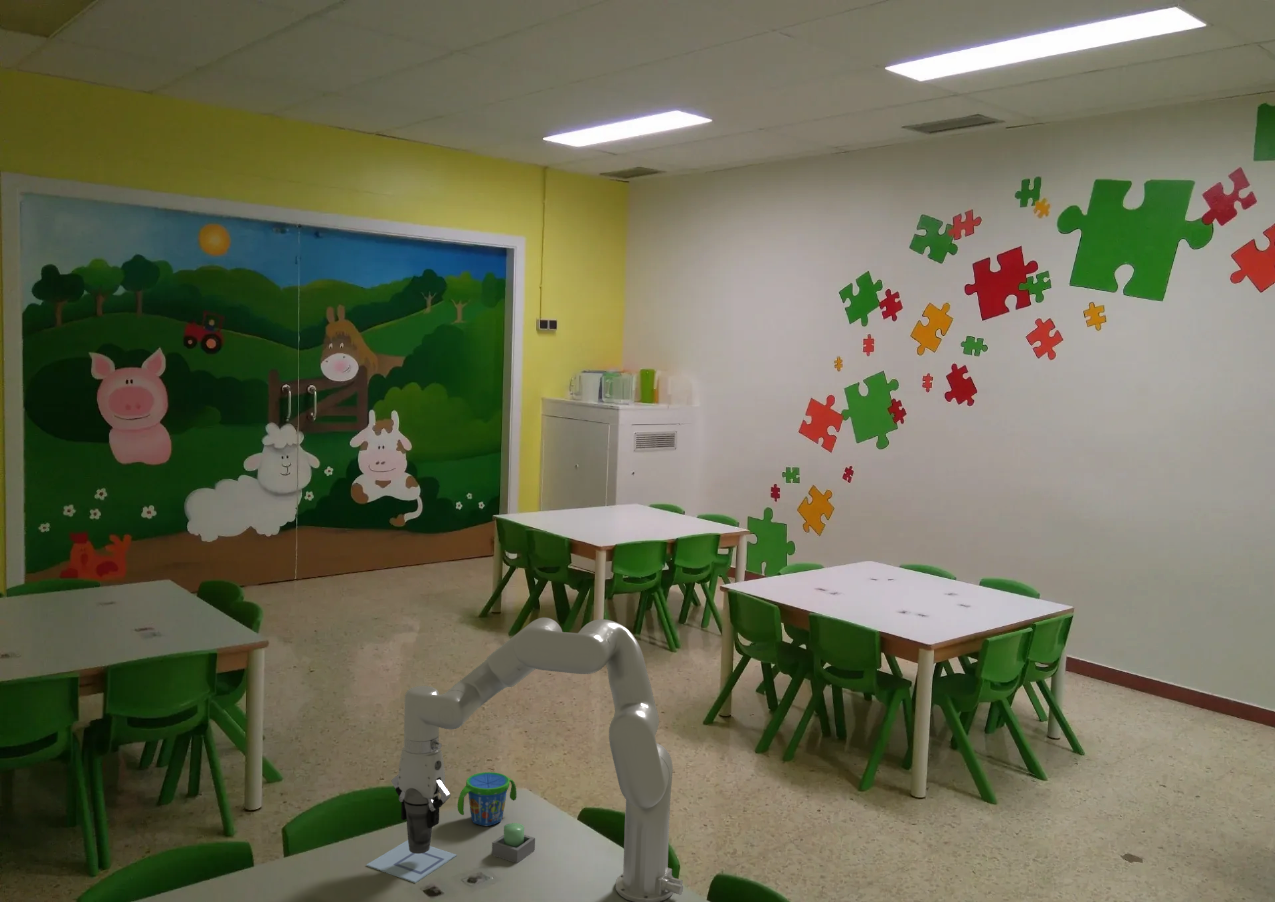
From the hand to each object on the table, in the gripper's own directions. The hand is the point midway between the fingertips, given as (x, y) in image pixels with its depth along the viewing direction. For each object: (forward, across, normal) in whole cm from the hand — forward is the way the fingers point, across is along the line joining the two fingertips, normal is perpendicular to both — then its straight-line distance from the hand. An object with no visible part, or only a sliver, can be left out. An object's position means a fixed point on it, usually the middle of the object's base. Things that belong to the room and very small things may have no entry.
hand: (420, 821), depth 218 cm
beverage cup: (+7, 0, 0) cm, 7 cm away
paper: (+10, +2, 0) cm, 10 cm away
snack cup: (+10, 0, -25) cm, 27 cm away
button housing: (+10, -15, -15) cm, 23 cm away
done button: (+8, -15, -15) cm, 23 cm away
